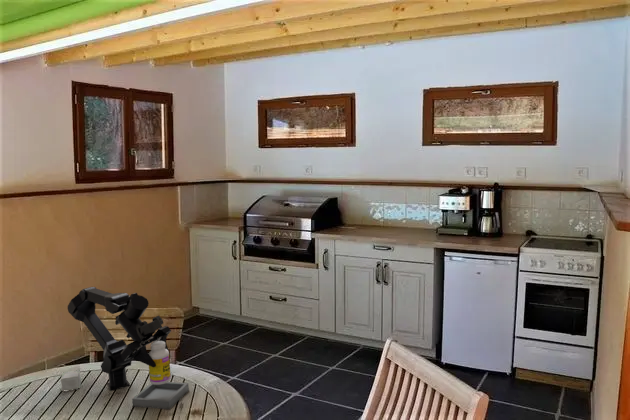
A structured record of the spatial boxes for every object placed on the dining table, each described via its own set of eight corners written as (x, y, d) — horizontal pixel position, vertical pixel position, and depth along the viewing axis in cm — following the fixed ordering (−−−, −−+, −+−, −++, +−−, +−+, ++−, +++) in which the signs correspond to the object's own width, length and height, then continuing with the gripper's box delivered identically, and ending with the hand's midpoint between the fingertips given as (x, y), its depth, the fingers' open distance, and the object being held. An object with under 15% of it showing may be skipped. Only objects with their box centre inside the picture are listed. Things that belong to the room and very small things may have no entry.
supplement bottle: (164, 386, 168) (162, 347, 167) (146, 385, 170) (143, 346, 168) (174, 377, 175) (171, 340, 173) (156, 376, 176) (153, 339, 175)
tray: (132, 406, 168) (132, 398, 168) (154, 387, 180) (153, 380, 180) (169, 409, 165) (168, 401, 164) (188, 390, 177) (188, 383, 177)
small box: (64, 385, 186) (62, 372, 186) (81, 382, 188) (80, 369, 187) (61, 392, 181) (60, 378, 180) (79, 389, 182) (78, 375, 182)
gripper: (124, 320, 163) (155, 359, 160) (164, 302, 180) (193, 337, 176) (107, 341, 167) (137, 379, 164) (148, 322, 184) (176, 356, 181)
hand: (162, 362), depth 171 cm, fingers closed on supplement bottle, 7 cm apart
